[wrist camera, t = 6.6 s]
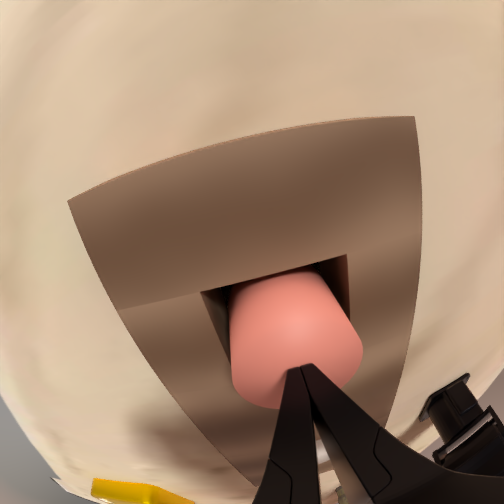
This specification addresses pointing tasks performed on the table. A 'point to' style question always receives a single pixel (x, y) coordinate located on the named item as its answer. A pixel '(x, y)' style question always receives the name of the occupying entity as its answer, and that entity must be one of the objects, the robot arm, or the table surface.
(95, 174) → the table surface
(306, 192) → the pin block
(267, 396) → the pink rounded block
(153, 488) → the element tile
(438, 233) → the table surface
